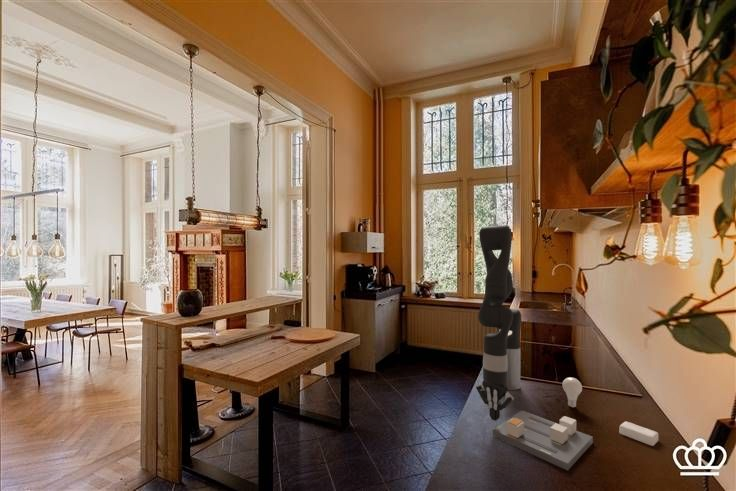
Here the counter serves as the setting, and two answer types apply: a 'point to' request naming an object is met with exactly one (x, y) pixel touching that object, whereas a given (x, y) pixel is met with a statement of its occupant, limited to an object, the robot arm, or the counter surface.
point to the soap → (638, 433)
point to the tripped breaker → (515, 427)
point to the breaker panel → (548, 439)
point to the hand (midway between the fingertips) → (494, 419)
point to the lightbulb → (572, 390)
